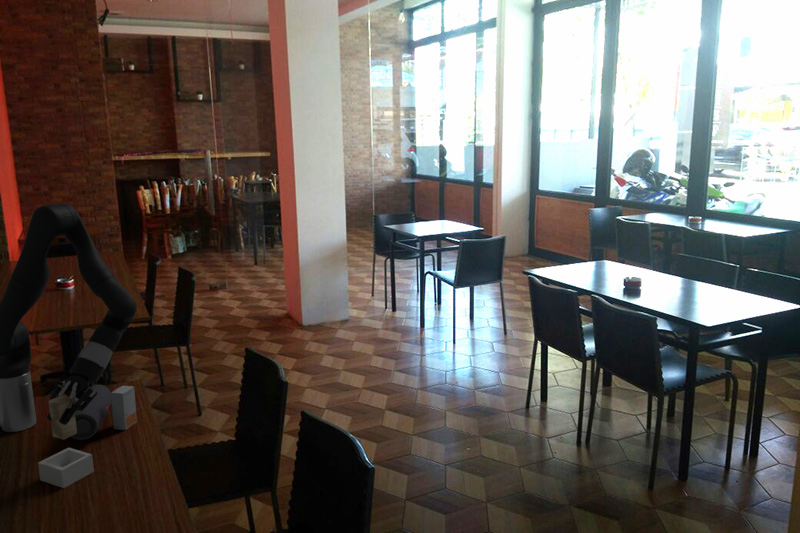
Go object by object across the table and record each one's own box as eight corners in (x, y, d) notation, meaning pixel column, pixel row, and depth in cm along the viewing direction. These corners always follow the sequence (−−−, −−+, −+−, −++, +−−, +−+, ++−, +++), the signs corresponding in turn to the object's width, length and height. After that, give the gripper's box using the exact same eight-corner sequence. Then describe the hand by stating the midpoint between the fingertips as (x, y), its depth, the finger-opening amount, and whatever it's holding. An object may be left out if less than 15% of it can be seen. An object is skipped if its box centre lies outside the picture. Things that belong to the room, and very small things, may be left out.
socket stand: (40, 480, 165) (38, 462, 164) (70, 464, 173) (68, 447, 172) (63, 488, 161) (61, 470, 160) (93, 471, 169) (92, 454, 168)
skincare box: (126, 430, 193) (122, 393, 190) (113, 429, 194) (109, 392, 191) (137, 421, 199) (134, 386, 196) (125, 420, 199) (122, 385, 197)
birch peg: (52, 436, 164) (48, 400, 162) (66, 430, 168) (62, 395, 166) (63, 439, 163) (59, 403, 161) (77, 433, 166) (72, 397, 164)
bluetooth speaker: (101, 442, 186) (97, 410, 184) (66, 446, 183) (62, 413, 181) (115, 410, 207) (112, 381, 205) (84, 413, 205) (81, 384, 203)
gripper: (63, 352, 171) (26, 411, 163) (101, 359, 165) (64, 421, 157) (82, 364, 177) (48, 422, 168) (119, 372, 171) (85, 432, 163)
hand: (56, 421), depth 163 cm, fingers closed on birch peg, 4 cm apart
